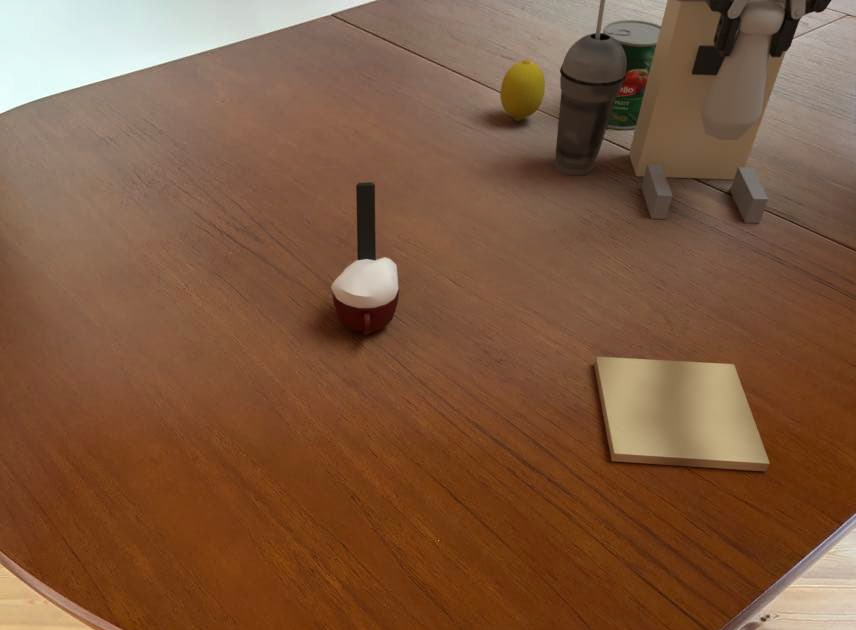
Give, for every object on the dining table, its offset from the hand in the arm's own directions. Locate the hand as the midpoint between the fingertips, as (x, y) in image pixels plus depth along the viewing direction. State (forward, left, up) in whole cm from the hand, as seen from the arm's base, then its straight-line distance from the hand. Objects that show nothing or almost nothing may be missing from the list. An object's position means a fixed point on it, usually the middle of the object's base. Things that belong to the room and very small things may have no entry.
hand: (748, 53), depth 85 cm
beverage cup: (+13, -8, -17) cm, 23 cm away
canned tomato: (+6, -22, -17) cm, 29 cm away
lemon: (+19, -20, -17) cm, 33 cm away
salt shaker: (0, 0, -8) cm, 8 cm away
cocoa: (+36, +24, -17) cm, 47 cm away
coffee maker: (0, -4, -17) cm, 18 cm away
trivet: (+9, +35, -17) cm, 40 cm away
